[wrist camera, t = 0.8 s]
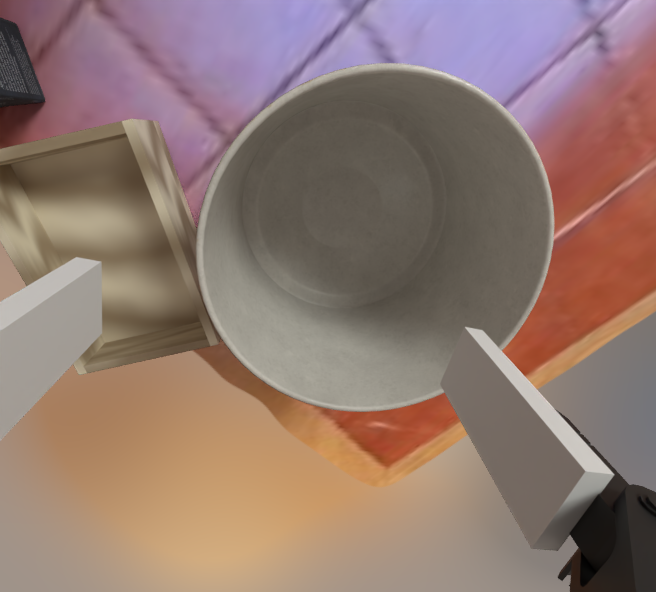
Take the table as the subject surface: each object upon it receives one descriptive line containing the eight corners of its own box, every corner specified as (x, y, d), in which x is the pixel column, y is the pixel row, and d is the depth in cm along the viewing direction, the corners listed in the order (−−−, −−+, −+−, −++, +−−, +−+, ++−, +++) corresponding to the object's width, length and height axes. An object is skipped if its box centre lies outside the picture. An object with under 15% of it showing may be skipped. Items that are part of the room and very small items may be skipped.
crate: (0, 157, 32) (-55, 161, 27) (158, 121, 32) (132, 118, 27) (101, 345, 40) (74, 376, 35) (228, 317, 40) (218, 344, 35)
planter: (476, 173, 36) (630, 206, 19) (368, 325, 42) (415, 451, 25) (305, 50, 31) (316, -48, 14) (209, 243, 37) (137, 333, 20)
